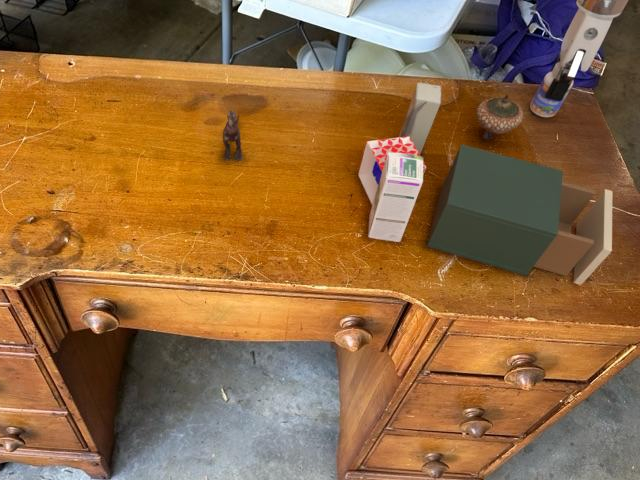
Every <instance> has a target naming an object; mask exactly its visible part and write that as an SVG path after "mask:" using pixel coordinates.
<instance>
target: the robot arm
mask: <svg viewBox="0 0 640 480" xmlns="http://www.w3.org/2000/svg"><path fill="white" fill-rule="evenodd" d="M628 2H629V0H576V1H575V4H576V6H577V7H578V9H577V11H576V13H575V15H574V17H573V19H572V20H571V23H570V24H569V26H568V29H567V30H566V32H565V34H564V37H563V39H562V42H561V48H560V52H559V55H558V56H557V59H556V60H555V61H554V63H553V65H552V67H551V69H550V71H549V72H551V71H553V68H554V67H555V65H556V63H558V62H560V65H561V68H560V71H559V73H558V75H557V77H556V79H555V78H554V79H553V81H552V83H551V85H550V87H549V89H548V91H547V92H546V94H545V98H547V99H552V100H556V101H562V99H563V98H564V96H565V94H566V92H567V90H568V89H569V87H570V85H571V83H572V81H574V79H575V78H576V75H577V73H578V70H579V69H580V72H582V73H585V72H587V71H588V70H589V68H590V67H591V66H592V63H593V61H594V59H595V57H596V56H597V53H598V52H599V50H600V48H601V46H602V44H603V42H604V40H605V38H606V36H607V33H609V32H608V31H609V29H610V27H611V24H612V22H613V20H614V18H617V17H619V16H620V15H621V14H622V13H623V10H625V7H626V6H627V4H628ZM568 62H569V63H571V65H567V64H566V63H568ZM564 69H568V72H567V73H564V74H563V72H564Z"/></svg>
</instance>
